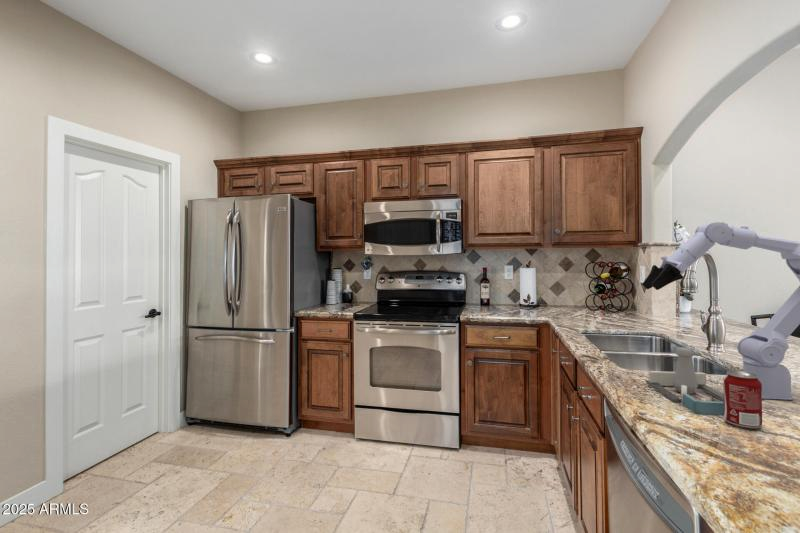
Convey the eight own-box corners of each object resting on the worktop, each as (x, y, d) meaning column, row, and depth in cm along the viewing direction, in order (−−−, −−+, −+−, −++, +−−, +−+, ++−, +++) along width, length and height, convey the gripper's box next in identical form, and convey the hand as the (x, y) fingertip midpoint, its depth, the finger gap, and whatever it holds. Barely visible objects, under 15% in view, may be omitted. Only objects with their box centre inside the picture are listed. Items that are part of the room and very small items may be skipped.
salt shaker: (702, 395, 110) (701, 350, 110) (679, 394, 111) (678, 349, 111) (691, 389, 116) (690, 345, 116) (669, 388, 117) (669, 345, 117)
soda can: (765, 433, 86) (765, 379, 86) (726, 426, 90) (725, 375, 90) (758, 422, 92) (757, 371, 92) (721, 416, 95) (720, 368, 95)
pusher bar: (690, 378, 124) (690, 355, 124) (706, 387, 116) (705, 362, 116) (639, 377, 127) (639, 354, 127) (651, 385, 119) (650, 360, 119)
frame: (732, 405, 102) (732, 387, 102) (751, 416, 95) (750, 396, 95) (680, 403, 105) (680, 385, 104) (695, 413, 98) (695, 394, 98)
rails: (700, 385, 119) (700, 382, 119) (737, 405, 102) (737, 401, 102) (646, 383, 122) (646, 380, 122) (673, 402, 105) (673, 399, 105)
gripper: (665, 247, 121) (631, 277, 124) (686, 243, 107) (647, 277, 110) (683, 263, 120) (648, 293, 122) (707, 261, 106) (667, 295, 108)
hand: (649, 287), depth 116 cm, fingers open, 7 cm apart
